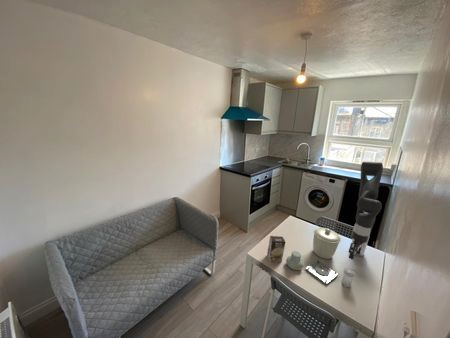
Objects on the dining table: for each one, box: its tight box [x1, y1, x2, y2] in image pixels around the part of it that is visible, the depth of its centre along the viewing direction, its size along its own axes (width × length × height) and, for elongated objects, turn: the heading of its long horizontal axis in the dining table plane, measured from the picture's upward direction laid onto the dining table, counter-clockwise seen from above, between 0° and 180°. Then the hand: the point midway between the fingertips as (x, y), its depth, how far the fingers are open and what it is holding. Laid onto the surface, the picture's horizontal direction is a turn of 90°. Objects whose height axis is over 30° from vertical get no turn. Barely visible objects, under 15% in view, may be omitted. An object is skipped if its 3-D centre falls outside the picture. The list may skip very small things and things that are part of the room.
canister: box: [312, 227, 342, 260], centre depth 140 cm, size 18×18×21 cm
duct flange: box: [305, 260, 339, 286], centre depth 124 cm, size 14×14×2 cm
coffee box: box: [266, 235, 286, 263], centre depth 132 cm, size 9×6×16 cm
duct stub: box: [341, 268, 356, 288], centre depth 116 cm, size 6×6×9 cm
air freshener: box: [285, 250, 304, 271], centre depth 127 cm, size 11×8×10 cm
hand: (354, 256), depth 112 cm, fingers open, 8 cm apart
